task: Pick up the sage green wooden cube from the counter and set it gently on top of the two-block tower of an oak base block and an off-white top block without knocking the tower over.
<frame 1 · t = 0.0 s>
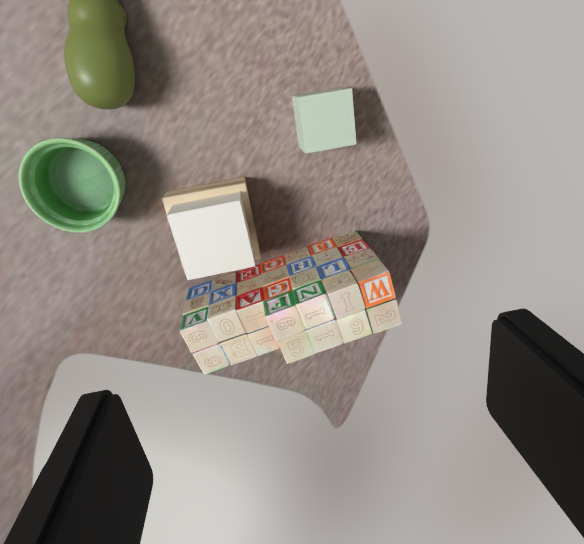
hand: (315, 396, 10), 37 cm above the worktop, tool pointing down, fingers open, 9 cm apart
tower top: (214, 230, 43), point 3 cm above the worktop, touching tower base
ramekin: (86, 177, 42), on the worktop
sage cube: (318, 117, 42), on the worktop
tower base: (215, 219, 46), on the worktop, touching tower top
pear: (107, 49, 38), on the worktop
stack of blocks: (280, 279, 50), on the worktop
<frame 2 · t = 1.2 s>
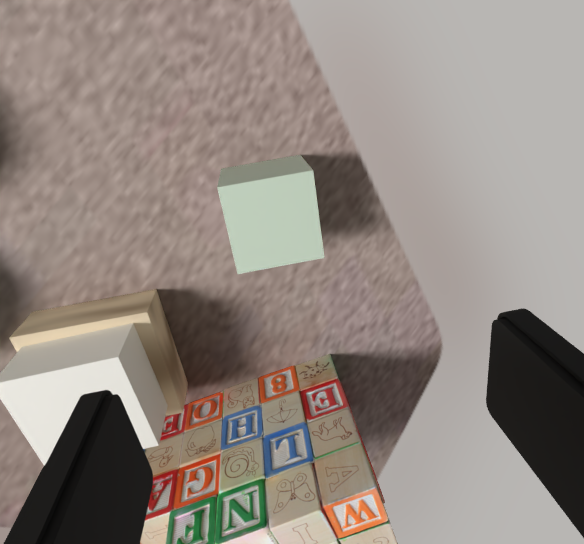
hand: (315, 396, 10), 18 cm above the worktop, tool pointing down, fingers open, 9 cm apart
tower top: (99, 377, 27), point 3 cm above the worktop
sage cube: (267, 200, 26), on the worktop
tower base: (117, 347, 30), on the worktop
stack of blocks: (221, 419, 34), on the worktop
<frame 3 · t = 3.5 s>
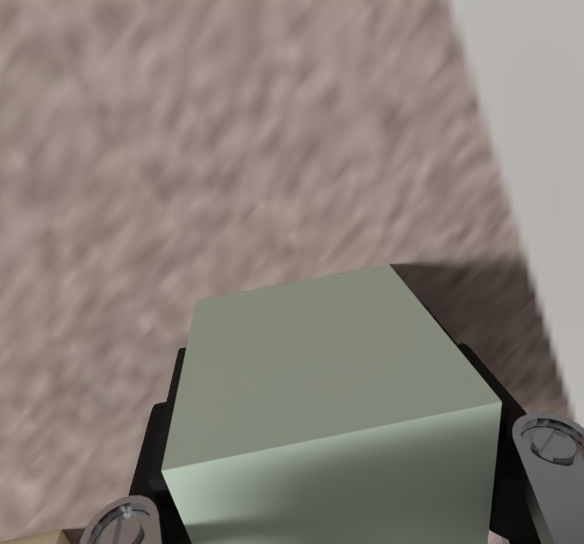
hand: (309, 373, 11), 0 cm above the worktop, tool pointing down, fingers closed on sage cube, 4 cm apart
sage cube: (306, 360, 11), on the worktop, touching gripper
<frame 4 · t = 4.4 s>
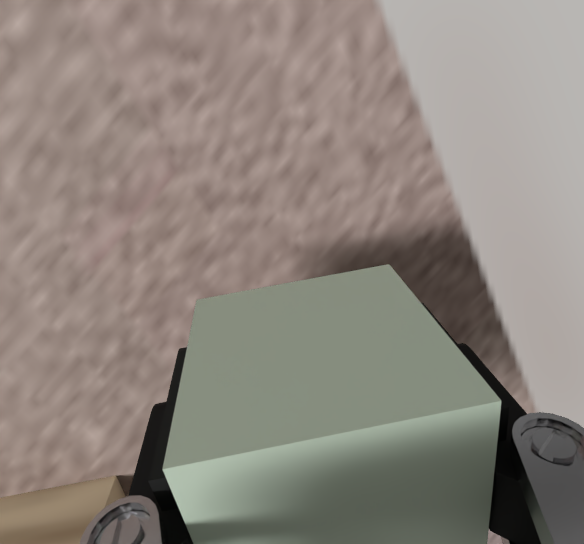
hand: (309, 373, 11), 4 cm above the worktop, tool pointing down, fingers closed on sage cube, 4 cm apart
sage cube: (306, 359, 11), point 3 cm above the worktop, touching gripper
when the fingers open (8 cm above the worktop, at t = 9.2 s): sage cube drops 1 cm, point 7 cm above the worktop.
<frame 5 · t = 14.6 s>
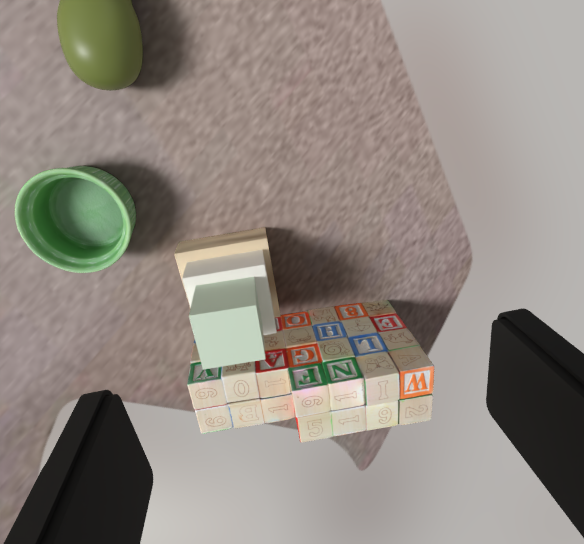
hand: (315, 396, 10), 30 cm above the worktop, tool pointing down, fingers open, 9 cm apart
tower top: (232, 288, 39), point 3 cm above the worktop, touching tower base
ramekin: (92, 208, 38), on the worktop
sage cube: (230, 306, 36), point 7 cm above the worktop
tower base: (231, 271, 42), on the worktop, touching tower top
pear: (110, 19, 32), on the worktop
stack of blocks: (296, 334, 46), on the worktop
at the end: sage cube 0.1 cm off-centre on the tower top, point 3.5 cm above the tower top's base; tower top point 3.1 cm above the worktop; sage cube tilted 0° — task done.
